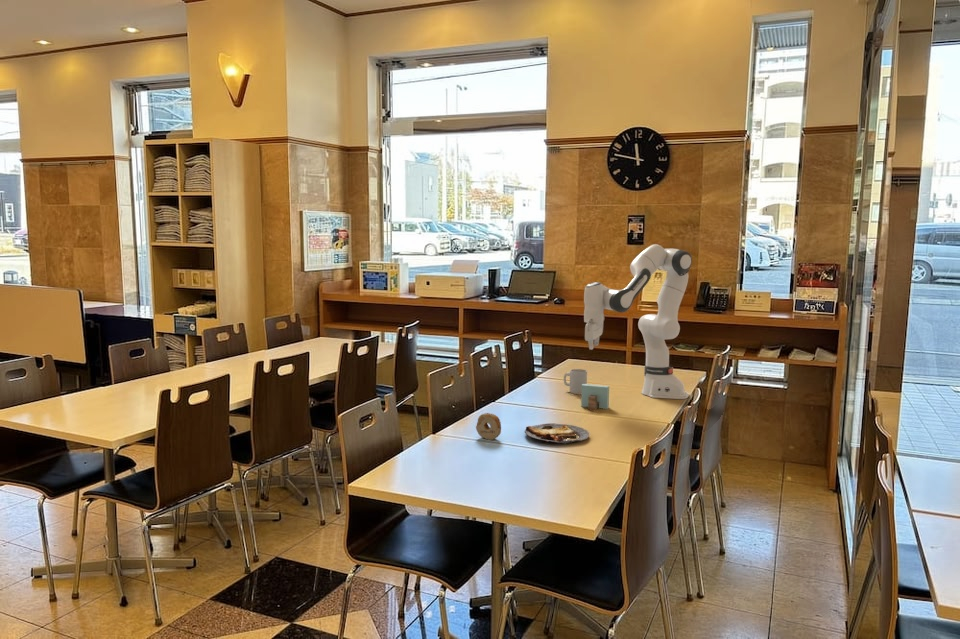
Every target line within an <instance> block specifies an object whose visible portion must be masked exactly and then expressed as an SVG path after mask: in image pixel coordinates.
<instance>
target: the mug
mask: <svg viewBox="0 0 960 639" xmlns="http://www.w3.org/2000/svg"><path fill="white" fill-rule="evenodd" d="M567 376H569V382H567V380H566V379H567ZM563 383H564V385H565V386H566V387H569V393H571V394H574V395H581V390H582V384H588V371H587V370H586V369H583V368H581V369H580V368H576V369H575V368H573V369H570V370H569V372H566V373H564V375H563Z"/></svg>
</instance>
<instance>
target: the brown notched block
mask: <svg viewBox="0 0 960 639" xmlns="http://www.w3.org/2000/svg"><path fill="white" fill-rule="evenodd" d="M587 409H588V411H594V410H595V411H596V410H597V409H599V402H597V396H596V395H590V396H589V397H588V407H587Z"/></svg>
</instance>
